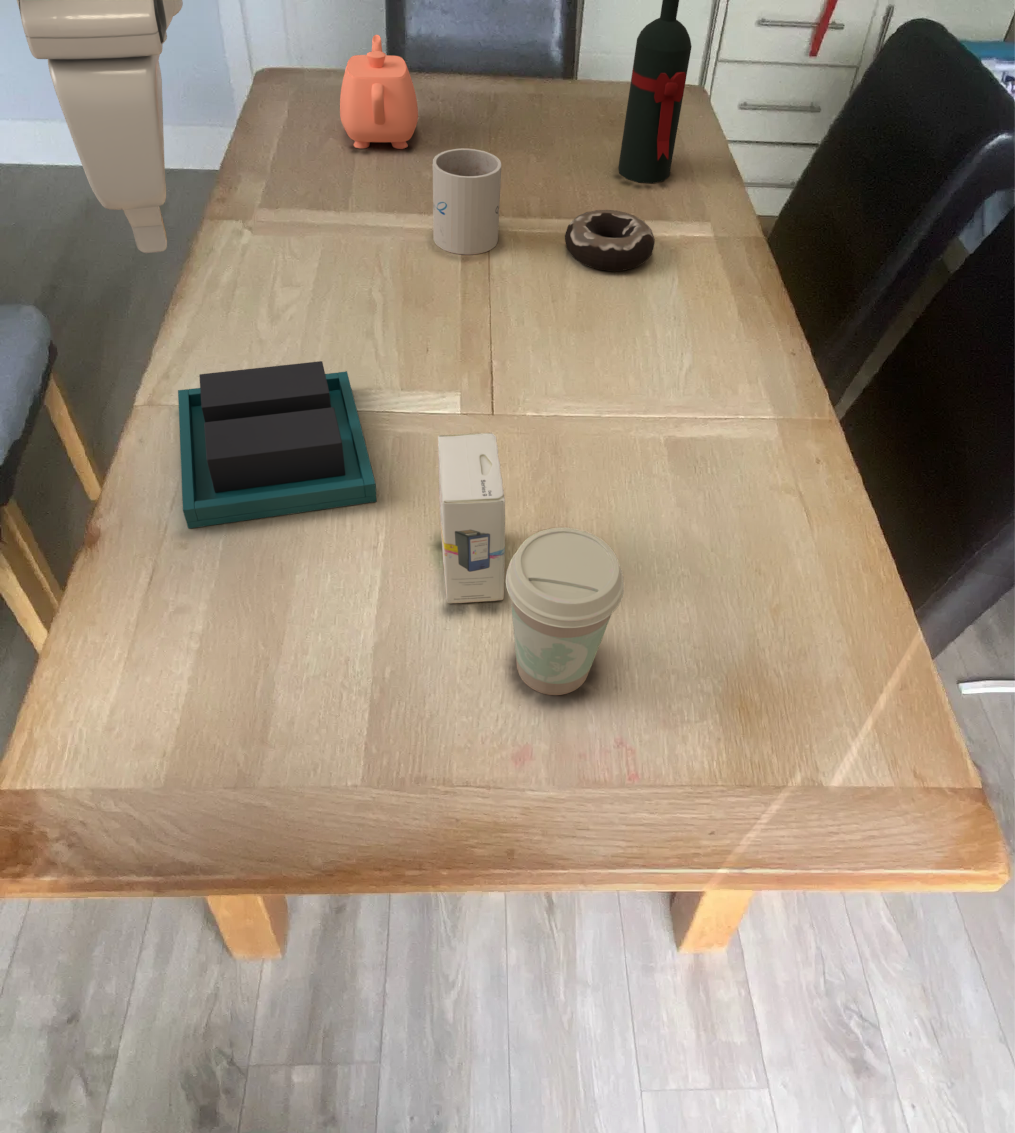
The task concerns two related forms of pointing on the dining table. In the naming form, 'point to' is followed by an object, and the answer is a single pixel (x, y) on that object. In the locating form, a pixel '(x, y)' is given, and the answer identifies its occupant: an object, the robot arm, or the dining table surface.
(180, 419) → the teal tray
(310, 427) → the loose pad
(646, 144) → the wine bottle
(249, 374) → the black rectangular block
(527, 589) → the coffee cup
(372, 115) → the teapot
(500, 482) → the ink box
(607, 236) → the donut
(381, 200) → the dining table surface
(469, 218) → the mug
